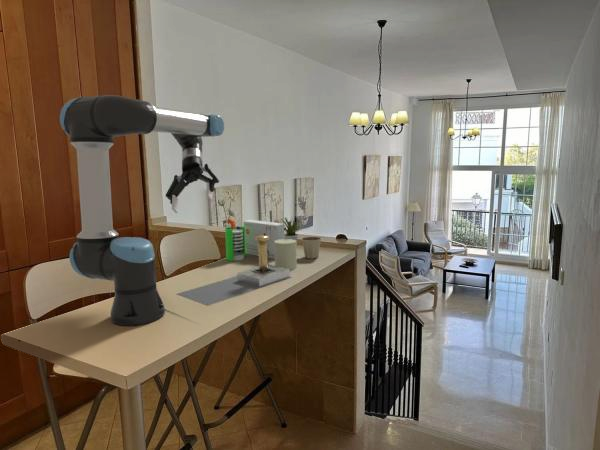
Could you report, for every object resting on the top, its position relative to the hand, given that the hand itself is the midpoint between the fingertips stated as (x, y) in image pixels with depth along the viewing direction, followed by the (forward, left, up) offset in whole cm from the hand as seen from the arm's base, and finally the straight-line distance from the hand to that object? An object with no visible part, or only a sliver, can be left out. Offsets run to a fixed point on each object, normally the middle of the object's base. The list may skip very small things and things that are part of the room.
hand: (192, 204), depth 153 cm
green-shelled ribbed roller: (+36, +23, -30) cm, 52 cm away
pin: (+21, -12, -30) cm, 39 cm away
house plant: (+68, +20, -30) cm, 77 cm away
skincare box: (+48, +16, -30) cm, 59 cm away
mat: (+10, -10, -30) cm, 33 cm away
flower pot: (+59, -3, -30) cm, 67 cm away
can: (+38, -7, -30) cm, 49 cm away
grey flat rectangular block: (+21, -12, -30) cm, 39 cm away
